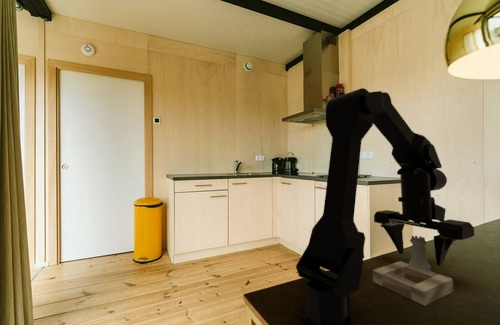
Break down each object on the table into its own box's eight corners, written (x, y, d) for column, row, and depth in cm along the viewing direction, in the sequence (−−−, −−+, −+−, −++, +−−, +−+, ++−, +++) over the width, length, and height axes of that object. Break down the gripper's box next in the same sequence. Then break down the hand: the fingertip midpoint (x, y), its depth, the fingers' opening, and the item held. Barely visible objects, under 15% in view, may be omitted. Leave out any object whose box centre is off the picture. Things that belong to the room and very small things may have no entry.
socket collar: (425, 306, 40) (424, 291, 40) (373, 281, 49) (372, 270, 49) (453, 291, 44) (452, 278, 44) (400, 271, 53) (400, 261, 53)
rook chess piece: (422, 277, 51) (420, 241, 51) (403, 268, 55) (402, 235, 55) (436, 274, 52) (434, 239, 52) (417, 266, 56) (416, 233, 56)
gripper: (483, 193, 49) (488, 266, 48) (396, 188, 66) (399, 242, 65) (458, 197, 44) (463, 278, 44) (371, 191, 61) (374, 249, 60)
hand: (419, 259), depth 53 cm, fingers open, 8 cm apart
